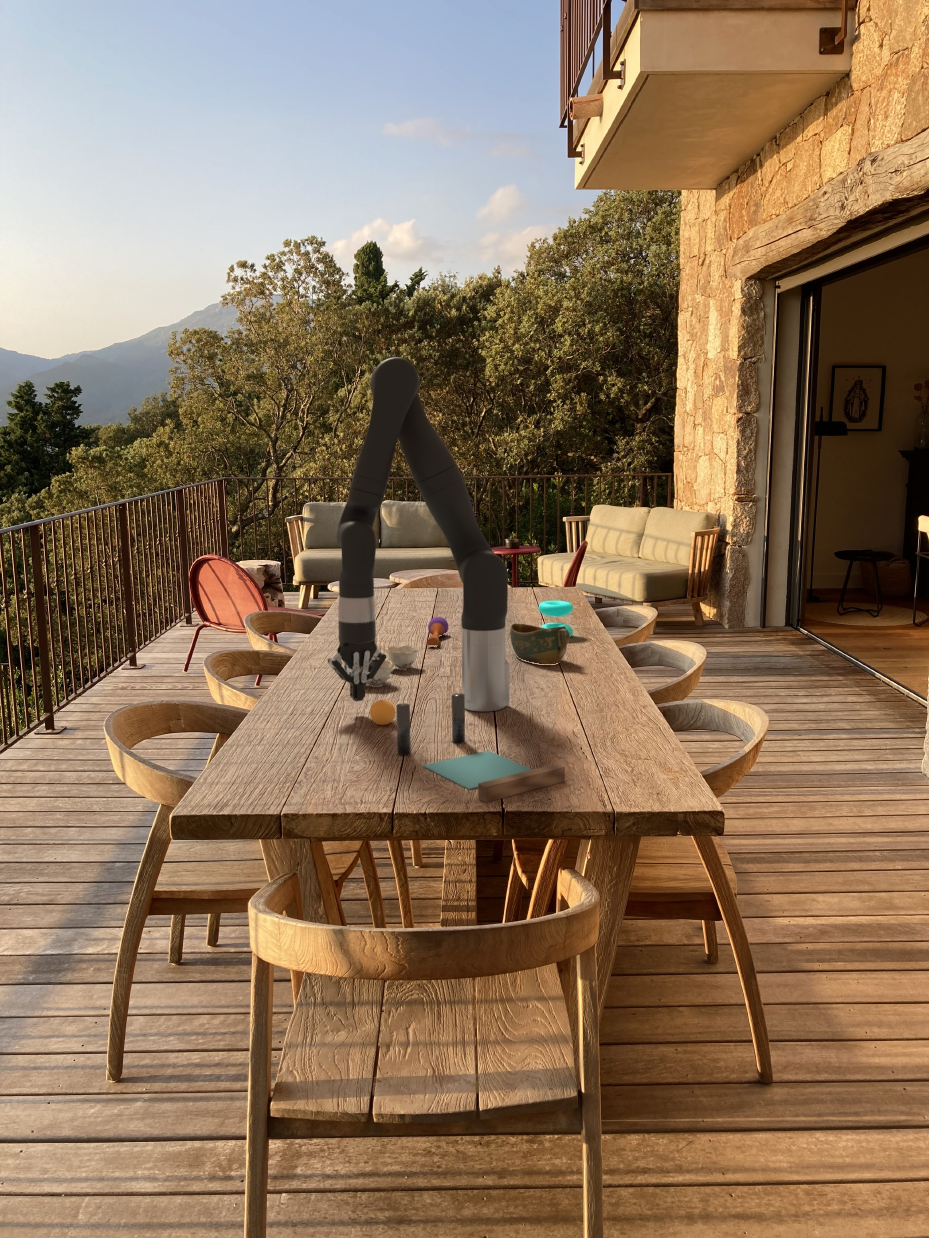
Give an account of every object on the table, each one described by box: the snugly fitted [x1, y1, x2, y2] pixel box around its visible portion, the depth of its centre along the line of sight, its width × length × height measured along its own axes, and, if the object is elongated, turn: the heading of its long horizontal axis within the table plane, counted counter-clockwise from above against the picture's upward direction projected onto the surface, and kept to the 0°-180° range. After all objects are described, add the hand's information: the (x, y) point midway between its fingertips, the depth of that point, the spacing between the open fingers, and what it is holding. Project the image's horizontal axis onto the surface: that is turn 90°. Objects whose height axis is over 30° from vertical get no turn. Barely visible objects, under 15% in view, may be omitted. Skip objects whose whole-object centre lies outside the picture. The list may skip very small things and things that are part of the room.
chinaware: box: [342, 619, 420, 688], centre depth 227 cm, size 28×17×17 cm, turn 168°
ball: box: [369, 699, 397, 726], centre depth 187 cm, size 5×5×5 cm
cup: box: [509, 623, 571, 664], centre depth 242 cm, size 13×20×10 cm, turn 7°
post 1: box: [395, 702, 412, 757], centre depth 169 cm, size 2×2×9 cm
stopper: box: [477, 763, 566, 803], centre depth 151 cm, size 16×2×2 cm, turn 125°
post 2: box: [451, 692, 466, 744], centre depth 175 cm, size 2×2×9 cm
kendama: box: [426, 616, 449, 646], centre depth 269 cm, size 6×6×20 cm
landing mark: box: [422, 750, 533, 791], centre depth 161 cm, size 14×14×1 cm
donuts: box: [538, 600, 574, 636], centre depth 273 cm, size 10×10×10 cm
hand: (357, 700), depth 195 cm, fingers closed
